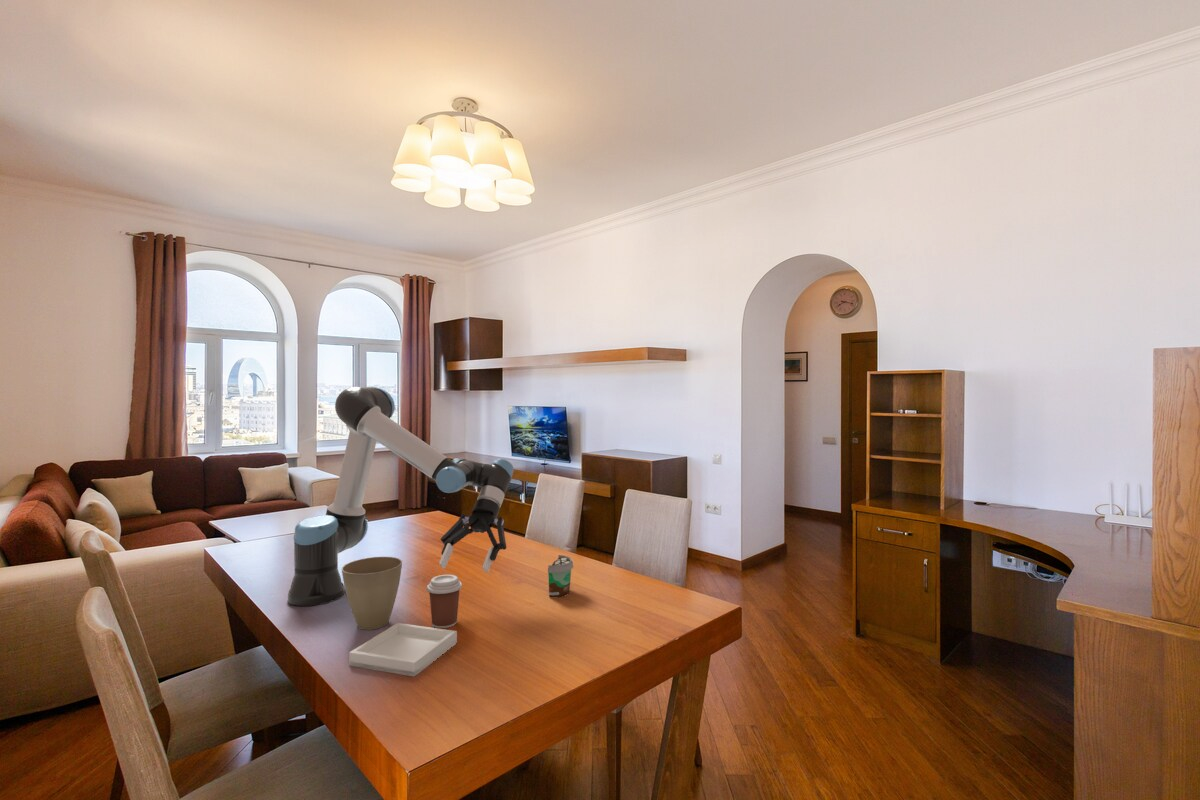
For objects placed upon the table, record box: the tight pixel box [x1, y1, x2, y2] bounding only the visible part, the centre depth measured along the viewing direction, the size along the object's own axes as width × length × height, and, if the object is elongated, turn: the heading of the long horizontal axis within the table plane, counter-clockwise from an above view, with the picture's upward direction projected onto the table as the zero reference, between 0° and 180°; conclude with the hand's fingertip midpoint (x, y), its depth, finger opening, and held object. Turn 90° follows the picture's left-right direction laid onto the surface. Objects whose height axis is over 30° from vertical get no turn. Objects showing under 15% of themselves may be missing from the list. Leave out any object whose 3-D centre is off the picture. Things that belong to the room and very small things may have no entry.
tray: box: [348, 622, 458, 677], centre depth 130 cm, size 17×17×3 cm
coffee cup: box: [426, 574, 463, 629], centre depth 148 cm, size 9×9×12 cm
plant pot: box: [341, 556, 403, 631], centre depth 147 cm, size 15×15×16 cm
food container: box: [547, 554, 574, 598], centre depth 171 cm, size 12×6×10 cm, turn 168°
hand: (463, 568), depth 155 cm, fingers open, 13 cm apart
